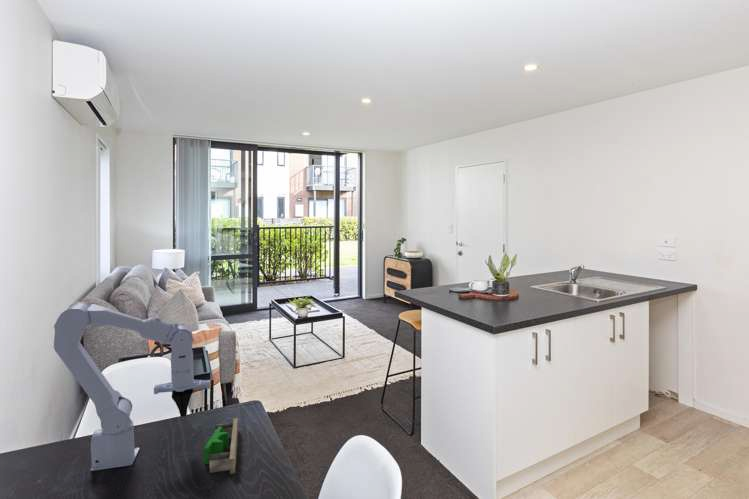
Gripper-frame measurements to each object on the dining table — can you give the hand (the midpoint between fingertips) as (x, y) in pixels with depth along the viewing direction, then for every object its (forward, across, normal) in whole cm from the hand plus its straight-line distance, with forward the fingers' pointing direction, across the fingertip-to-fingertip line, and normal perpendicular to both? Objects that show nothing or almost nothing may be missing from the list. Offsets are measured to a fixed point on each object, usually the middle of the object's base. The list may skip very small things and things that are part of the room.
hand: (183, 414), depth 117 cm
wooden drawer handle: (+9, +12, -7) cm, 16 cm away
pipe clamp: (+9, +10, -6) cm, 15 cm away
